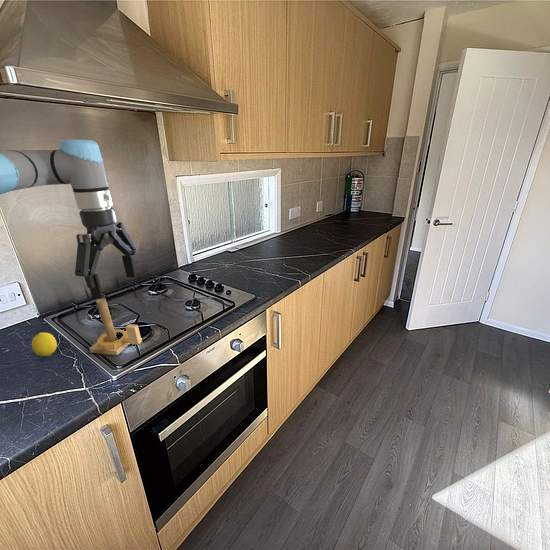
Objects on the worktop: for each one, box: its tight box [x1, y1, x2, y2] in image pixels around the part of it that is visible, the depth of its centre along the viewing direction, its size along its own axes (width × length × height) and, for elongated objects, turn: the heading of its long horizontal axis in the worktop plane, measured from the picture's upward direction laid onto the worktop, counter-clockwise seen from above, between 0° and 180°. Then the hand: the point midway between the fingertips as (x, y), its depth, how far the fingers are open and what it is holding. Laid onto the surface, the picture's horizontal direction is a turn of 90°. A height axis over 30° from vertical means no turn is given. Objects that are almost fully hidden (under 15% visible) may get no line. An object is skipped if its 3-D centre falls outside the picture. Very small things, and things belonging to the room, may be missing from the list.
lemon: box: [31, 332, 58, 357], centre depth 84 cm, size 6×6×8 cm
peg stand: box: [89, 297, 131, 356], centre depth 87 cm, size 9×9×16 cm
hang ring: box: [96, 323, 143, 349], centre depth 88 cm, size 13×8×6 cm, turn 79°
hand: (116, 286), depth 80 cm, fingers open, 13 cm apart
